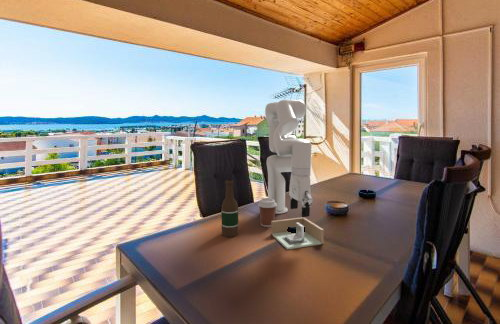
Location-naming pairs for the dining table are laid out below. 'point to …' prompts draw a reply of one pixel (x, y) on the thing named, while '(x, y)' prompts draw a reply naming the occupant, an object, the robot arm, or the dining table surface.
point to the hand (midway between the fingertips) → (299, 212)
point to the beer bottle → (229, 212)
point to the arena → (311, 234)
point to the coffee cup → (267, 211)
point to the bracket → (298, 236)
